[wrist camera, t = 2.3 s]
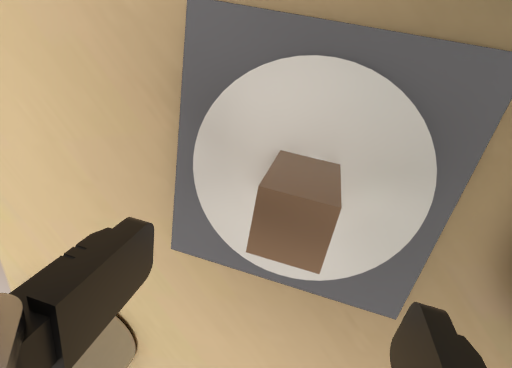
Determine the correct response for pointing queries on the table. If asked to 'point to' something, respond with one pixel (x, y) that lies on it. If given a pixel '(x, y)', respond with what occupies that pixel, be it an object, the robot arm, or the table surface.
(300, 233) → the lid
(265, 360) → the table surface
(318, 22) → the mat
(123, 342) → the travel mug
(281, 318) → the table surface
